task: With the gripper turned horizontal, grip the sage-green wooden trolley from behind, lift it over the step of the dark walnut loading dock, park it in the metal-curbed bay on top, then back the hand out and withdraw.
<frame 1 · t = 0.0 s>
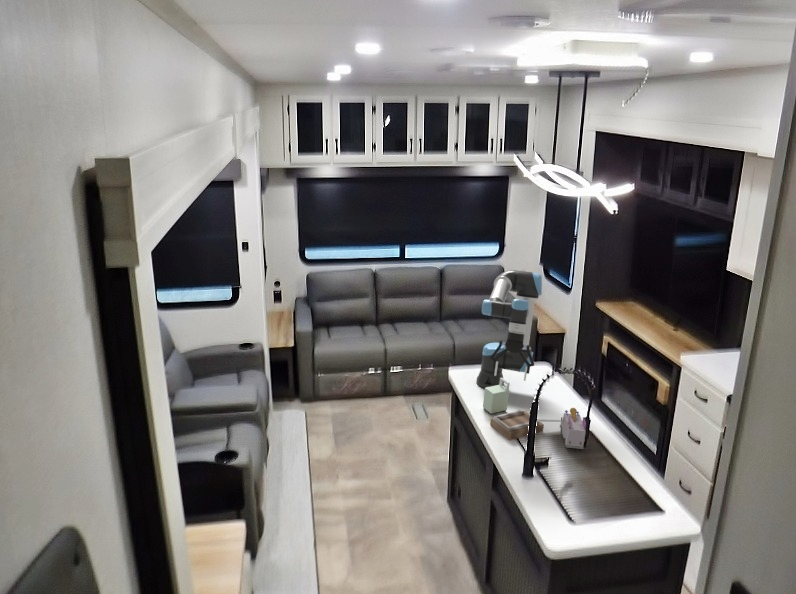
hand: (509, 378, 289), 28 cm above the counter, tool tilted 20°, fingers open, 13 cm apart
trolley: (494, 410, 316), on the counter
dock: (516, 428, 300), on the counter
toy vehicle: (570, 441, 292), on the counter
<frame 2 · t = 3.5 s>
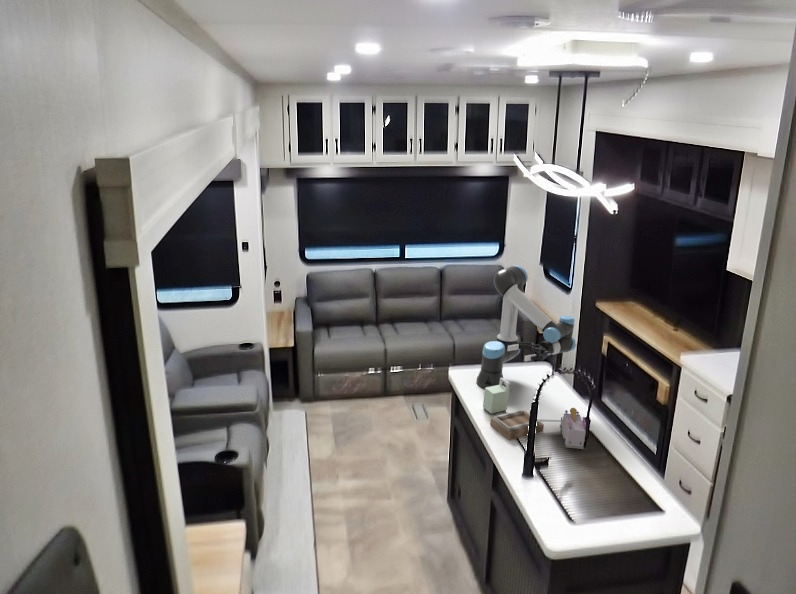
hand: (516, 353, 312), 30 cm above the counter, tool horizontal, fingers open, 13 cm apart
nothing on the counter moved.
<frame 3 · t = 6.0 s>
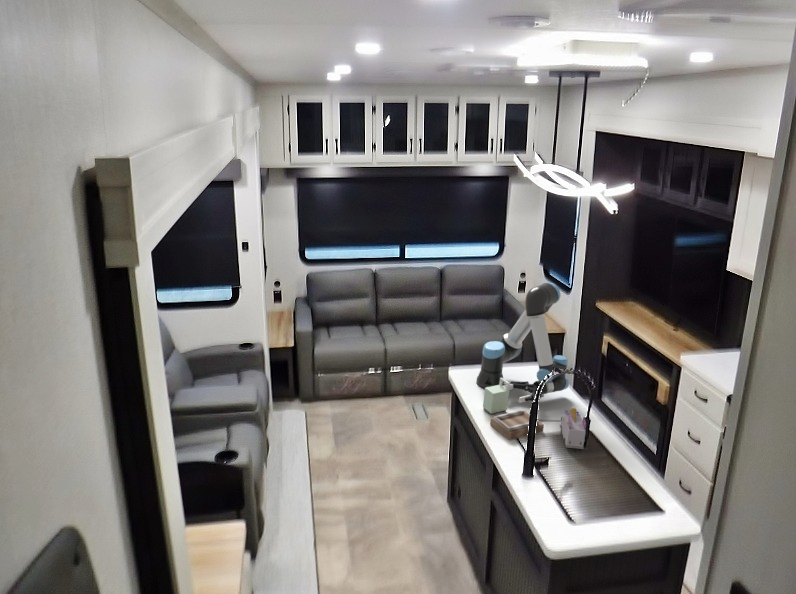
hand: (510, 394, 318), 7 cm above the counter, tool horizontal, fingers open, 13 cm apart
nothing on the counter moved.
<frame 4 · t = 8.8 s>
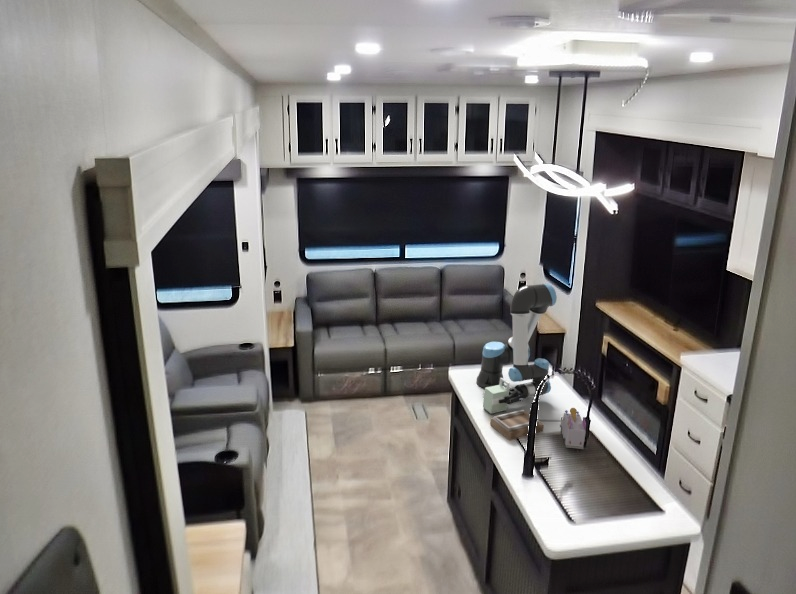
hand: (488, 398, 312), 7 cm above the counter, tool horizontal, fingers closed on trolley, 7 cm apart
trolley: (494, 410, 316), on the counter, touching gripper
everything else where it was.
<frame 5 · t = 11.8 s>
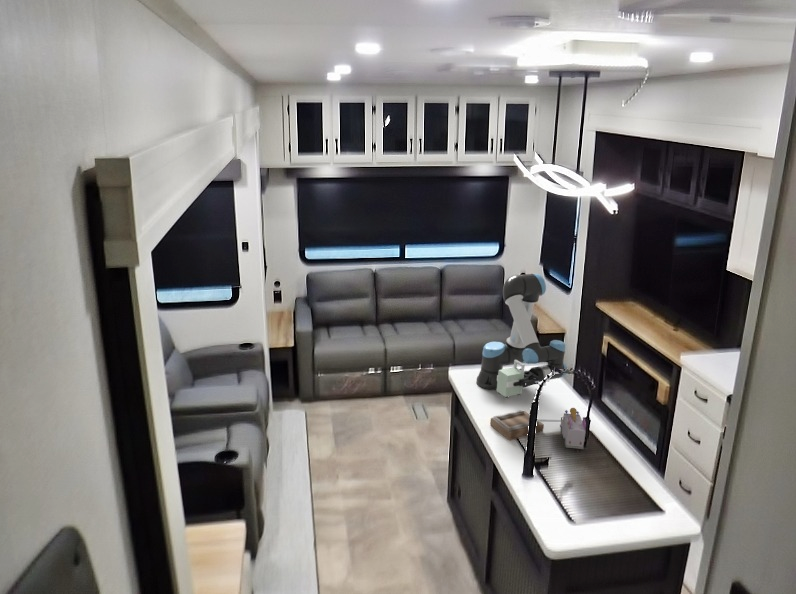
hand: (502, 381, 297), 22 cm above the counter, tool horizontal, fingers closed on trolley, 7 cm apart
trolley: (508, 393, 302), point 15 cm above the counter, touching gripper
everything else where it was.
when the fingers open (13 cm above the counter, at t = 14.8 s): trolley drops 1 cm, resting on dock.
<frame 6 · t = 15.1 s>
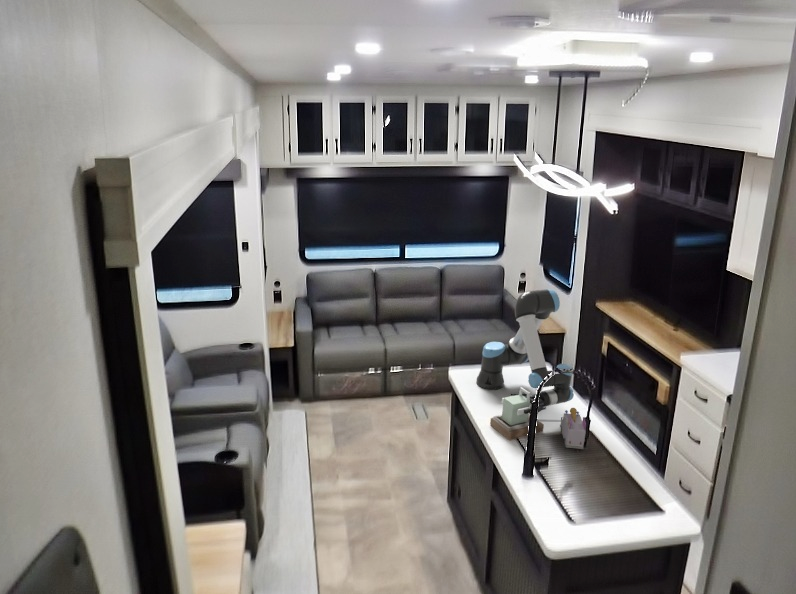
hand: (509, 406, 293), 13 cm above the counter, tool horizontal, fingers open, 11 cm apart
trolley: (514, 421, 298), point 4 cm above the counter, touching dock
everything else where it was.
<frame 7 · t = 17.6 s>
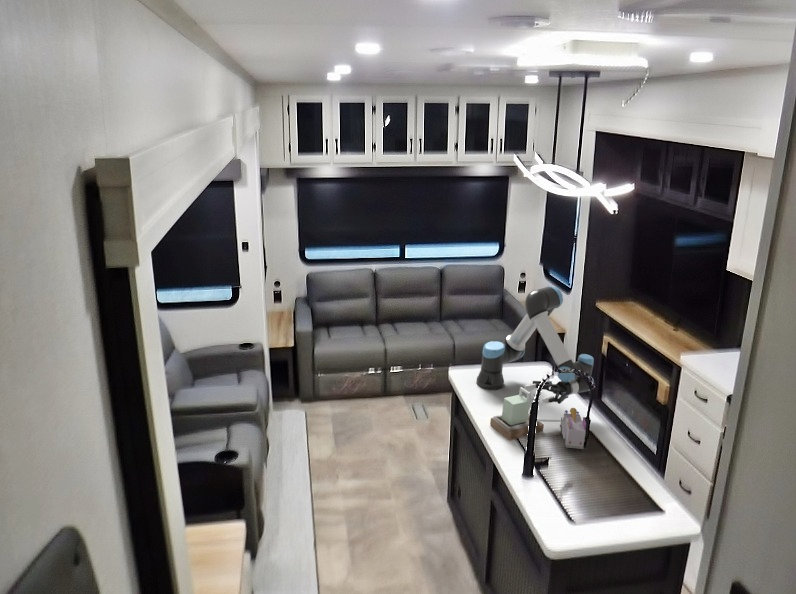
hand: (533, 394, 300), 16 cm above the counter, tool horizontal, fingers open, 13 cm apart
nothing on the counter moved.
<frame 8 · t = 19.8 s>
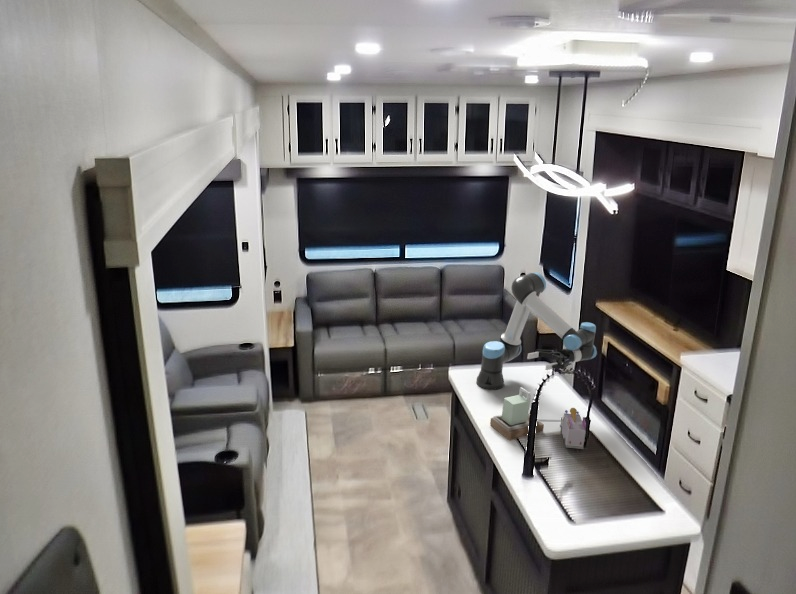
hand: (536, 361, 303), 30 cm above the counter, tool horizontal, fingers open, 13 cm apart
nothing on the counter moved.
at the end: trolley 0.1 cm from the target spot on the dock, point 4.0 cm above the dock's base; trolley tilted 0°; the gripper is holding nothing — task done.
